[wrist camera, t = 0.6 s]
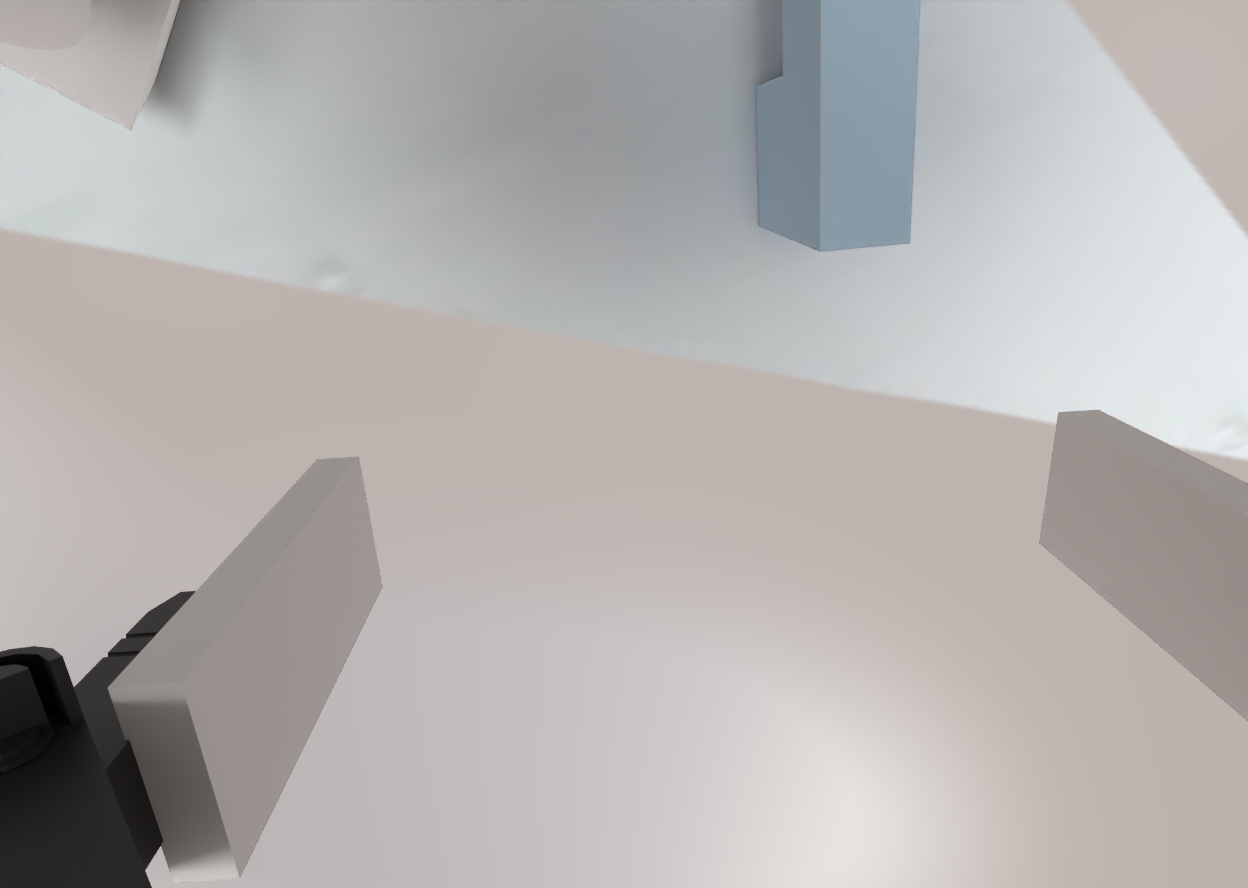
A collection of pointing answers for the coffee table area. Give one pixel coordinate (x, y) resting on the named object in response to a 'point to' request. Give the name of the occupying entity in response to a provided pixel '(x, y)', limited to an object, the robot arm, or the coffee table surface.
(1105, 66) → the coffee table surface
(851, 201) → the blue bridge block
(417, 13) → the coffee table surface
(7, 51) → the figurine
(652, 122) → the coffee table surface
